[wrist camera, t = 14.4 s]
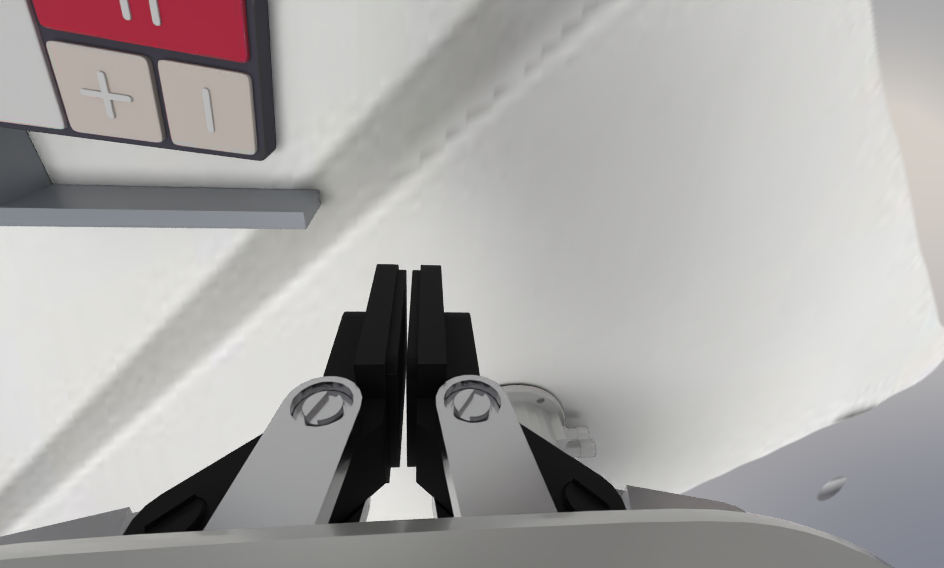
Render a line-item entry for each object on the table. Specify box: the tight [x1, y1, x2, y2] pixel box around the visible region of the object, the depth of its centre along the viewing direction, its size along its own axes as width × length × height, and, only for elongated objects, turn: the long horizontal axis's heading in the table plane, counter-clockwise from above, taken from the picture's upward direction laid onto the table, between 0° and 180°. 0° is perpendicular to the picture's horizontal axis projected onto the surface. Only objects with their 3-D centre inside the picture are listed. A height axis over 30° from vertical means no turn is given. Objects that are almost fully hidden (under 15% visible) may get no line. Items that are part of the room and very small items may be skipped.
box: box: [0, 127, 320, 229], centre depth 23 cm, size 19×18×4 cm
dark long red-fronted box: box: [0, 0, 276, 161], centre depth 24 cm, size 11×4×15 cm
